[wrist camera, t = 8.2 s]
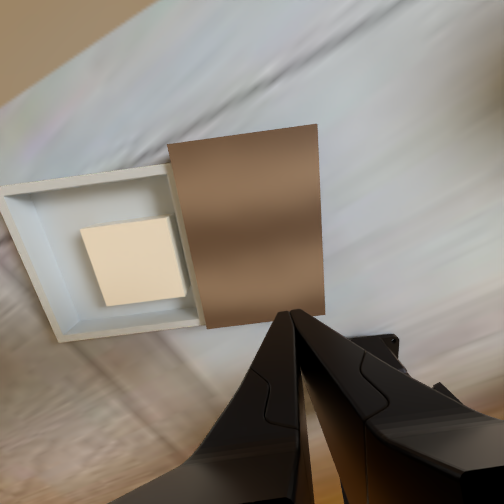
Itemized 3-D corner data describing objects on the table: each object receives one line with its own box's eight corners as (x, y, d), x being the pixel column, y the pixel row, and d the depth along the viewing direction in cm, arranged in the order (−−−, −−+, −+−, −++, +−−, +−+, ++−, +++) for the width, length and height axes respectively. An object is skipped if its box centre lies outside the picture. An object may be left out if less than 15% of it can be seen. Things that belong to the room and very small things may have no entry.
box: (212, 308, 21) (208, 324, 19) (78, 325, 22) (58, 342, 19) (183, 164, 18) (173, 162, 15) (22, 186, 18) (-11, 187, 16)
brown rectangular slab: (314, 295, 21) (325, 314, 18) (212, 308, 21) (206, 329, 18) (305, 132, 17) (317, 123, 14) (180, 149, 17) (167, 144, 15)
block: (190, 284, 20) (184, 296, 18) (120, 294, 20) (106, 306, 18) (174, 213, 18) (166, 217, 16) (96, 223, 18) (79, 229, 17)
